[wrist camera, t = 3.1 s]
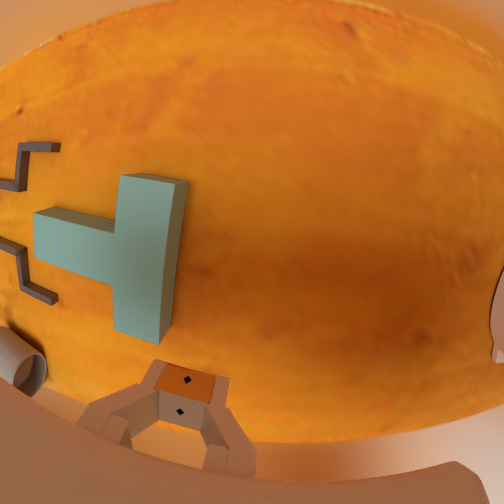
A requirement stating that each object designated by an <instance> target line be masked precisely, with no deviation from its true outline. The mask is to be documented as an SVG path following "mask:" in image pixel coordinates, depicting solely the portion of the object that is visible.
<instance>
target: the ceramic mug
mask: <svg viewBox="0 0 504 504" xmlns="http://www.w3.org/2000/svg"><path fill="white" fill-rule="evenodd" d="M46 371H47V363H46V359H45V357H44V356H43V354H42V353H40V352H39V351H38V350H36V349H35V348H34V347H32V346H31V345H30V344H28V343H27V342H26V341H24V340H23V339H21V338H20V337H19V336H18V335H17V334H16V333H14V332H13V331H12V330H10V329H8V328H6V327H2V326H0V376H1V377H2V378H3V379H4V380H6V381H7V382H8V383H10V384H11V385H12V386H14V387H15V388H17V389H18V390H19V391H21V392H22V393H24V394H25V395H27V396H28V397H30V398H32V397H33V396H34V395H36V393H37V392H38V391H39V389H40V388H41V386H42V384H43V382H44V379H45V376H46Z"/></svg>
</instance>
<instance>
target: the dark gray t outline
mask: <svg viewBox="0 0 504 504" xmlns="http://www.w3.org/2000/svg"><path fill="white" fill-rule="evenodd" d="M59 150H60V143H18V150H17V159H16V170H15V181H13V180H7V179H0V189H5V190H10V191H15V192H22V191H26V188H27V173H28V163H29V154H30V151H37V152H59ZM0 249H1V250H4V251H6V252H8V253H10V254H12V255H14V256H16V262H17V271H18V279H19V286H20V290H21V291H23V292H25V293H27V294H29V295H31V296H33V297H35V298H37V299H39V300H41V301H43V302H45V303H47V304H49V305H51V306H52V305H53V304H55V303H56V302H57V301H58V295H57V294H56V293H54V292H51V291H49V290H47V289H45V288H43V287H40V286H38V285H36V284H34V283H32V282H30V277H29V268H28V257H27V247H25V246H22V245H19V244H17V243H14V242H12V241H10V240H7V239H5V238H2V237H0Z"/></svg>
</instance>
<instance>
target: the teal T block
mask: <svg viewBox="0 0 504 504" xmlns="http://www.w3.org/2000/svg"><path fill="white" fill-rule="evenodd" d="M188 186H189V181H184V180H178V179H172V178H166V177H160V176H154V175H148V174H141V173H138V174H126V175H120V180H119V188H118V196H117V206H116V217H115V220H111V219H106V218H102V217H98V216H93V215H89V214H84V213H80V212H76V211H71V210H67V209H62V208H58V207H52V208H48V209H45V210H41V211H37V212H34V213H33V241H34V257H35V258H37V259H40V260H42V261H45V262H47V263H50V264H52V265H55V266H58V267H60V268H63V269H66V270H68V271H71V272H74V273H77V274H79V275H82V276H85V277H88V278H91V279H94V280H97V281H100V282H103V283H106V284H109V285H112V286H113V320H114V330H116V331H119V332H122V333H125V334H127V335H130V336H133V337H136V338H139V339H142V340H145V341H148V342H151V343H154V344H157V345H159V344H160V342H161V340H162V339H163V337H164V336H165V334H166V332H167V331H168V329H169V328H170V326H171V317H172V306H173V295H174V285H175V276H176V268H177V259H178V252H179V244H180V237H181V230H182V223H183V217H184V210H185V204H186V198H187V192H188Z"/></svg>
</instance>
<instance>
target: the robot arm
mask: <svg viewBox="0 0 504 504" xmlns="http://www.w3.org/2000/svg"><path fill="white" fill-rule="evenodd" d="M490 327H491V334H492V337H493V341H494V346H493V351H492V360H493V361H494V362H496V363H497V364H499V363H502V362H504V271H503V273H502V276H501V278H500V281H499V284H498V287H497V290H496V293H495V297H494V301H493V305H492V311H491V319H490ZM215 379H216V380H215ZM229 380H230V379H229V378H228V377H223V376H218V375H217V376H216V375H213V374H209V373H204V372H200V371H196V370H192V369H188V368H185V367H181V366H178V365H175V364H171V363H167V362H164V361H161V360H158V359H155V360H154V361H153V362H152V364H151V366H150V368H149V369H148V371H147V373H146V375H145V377H144V378H143V380H142V382H141V384H137V383H136V384H134V385H132V386H130V387H127V388H125V389H123V390H120V391H118V392H116V393H113V394H111V395H108V396H106V397H103V398H101V399H98V400H96V401H93V402H91V403H89V405H88V406H87V408H86V409H85V411H84V412H83V414H82V415H81V417H80V418H79V420H78V421H77V423H76V424H74V423H72V422H70V421H68V420H67V419H65V418H63V417H61V416H59V415H57V414H56V413H54V412H52V411H50V410H49V409H47V408H46V407H44V406H42V405H41V404H39V403H38V402H36V401H34V400H33V399H31V398H30V397H28V396H27V395H25V394H24V393H22V392H21V391H19V390H18V389H17V388H15V387H14V386H12V385H11V384H10V383H8V382H7V381H6V380H4V379H3V378H2V377H1V376H0V504H490V503H489V500H488V497H487V494H486V492H485V489H484V486H483V484H482V482H481V480H480V478H479V477H478V475H476V474H475V473H474V472H472V471H471V470H470V469H468V468H467V467H465V466H463V465H462V464H460V463H458V462H456V461H451V462H447V463H444V464H440V465H436V466H432V467H428V468H424V469H420V470H415V471H410V472H405V473H400V474H395V475H388V476H381V477H374V478H366V479H355V480H339V481H285V480H271V479H260V478H255V474H256V455H257V451H256V449H255V448H254V447H253V445H252V444H251V442H250V441H249V439H248V438H247V436H246V435H245V433H244V432H243V430H242V429H241V427H240V426H239V424H238V422H237V421H236V419H235V418H234V416H233V415H232V413H231V411H230V410H229V408H225V403H226V397H227V391H228V386H229ZM158 420H161V421H165V422H169V423H172V424H176V425H180V426H183V427H187V428H191V429H194V430H198V431H200V433H201V435H202V437H203V439H204V442H205V444H206V446H207V452H206V457H205V461H204V465H203V469H198V468H194V467H189V466H186V465H182V464H178V463H174V462H171V461H167V460H164V459H160V458H157V457H153V456H151V455H148V454H145V453H142V452H139V451H136V450H134V449H133V446H132V442H131V438H133V437H134V436H136V435H137V434H139V433H140V432H142V431H143V430H145V429H146V428H148V427H149V426H151V425H152V424H154V423H155V422H157V421H158Z"/></svg>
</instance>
